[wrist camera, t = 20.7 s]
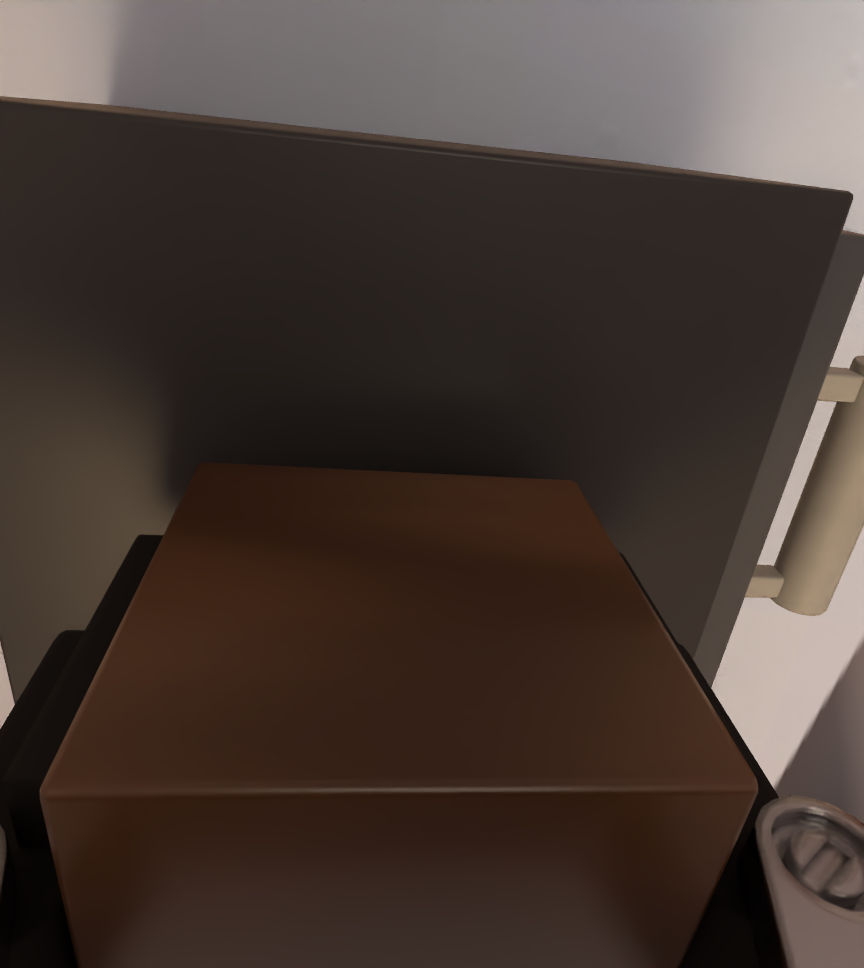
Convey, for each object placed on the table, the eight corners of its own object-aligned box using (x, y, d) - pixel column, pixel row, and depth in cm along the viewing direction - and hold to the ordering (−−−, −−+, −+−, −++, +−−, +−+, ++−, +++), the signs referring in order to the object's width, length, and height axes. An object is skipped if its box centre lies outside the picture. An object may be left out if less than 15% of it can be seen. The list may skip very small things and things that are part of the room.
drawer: (843, 213, 17) (1100, 259, 11) (715, 586, 22) (845, 755, 16) (202, 146, 15) (101, 159, 9) (222, 571, 20) (164, 757, 14)
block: (214, 743, 11) (115, 1155, 7) (197, 458, 9) (31, 792, 4) (520, 743, 12) (617, 1120, 7) (577, 478, 9) (767, 787, 5)
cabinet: (639, 163, 17) (858, 192, 10) (550, 582, 22) (644, 807, 15) (106, 105, 15) (-132, 85, 8) (152, 570, 21) (38, 815, 14)
